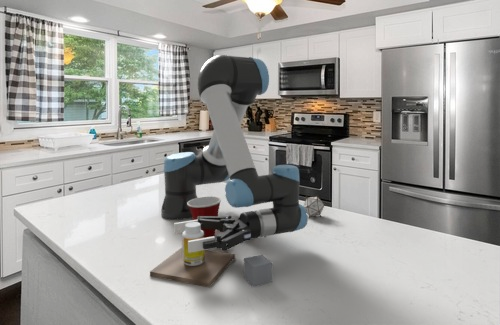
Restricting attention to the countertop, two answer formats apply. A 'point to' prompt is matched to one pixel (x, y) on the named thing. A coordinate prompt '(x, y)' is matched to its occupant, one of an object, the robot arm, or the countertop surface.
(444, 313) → the countertop surface
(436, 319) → the countertop surface
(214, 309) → the countertop surface
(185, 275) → the walnut board
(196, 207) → the plastic cup
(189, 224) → the supplement bottle
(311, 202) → the game die
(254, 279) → the slate block
